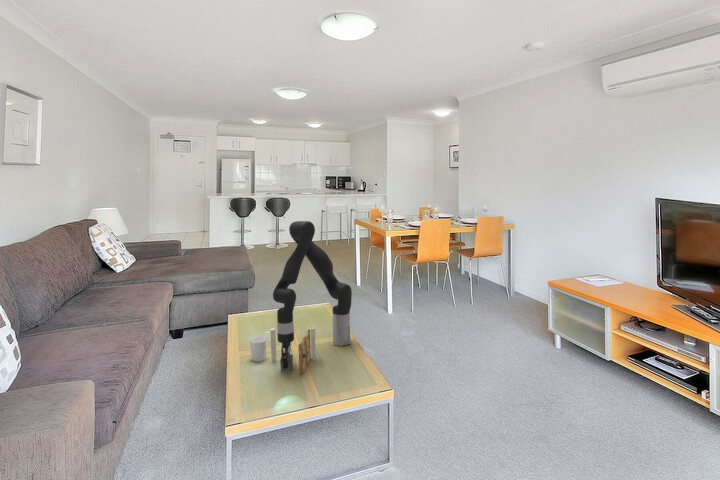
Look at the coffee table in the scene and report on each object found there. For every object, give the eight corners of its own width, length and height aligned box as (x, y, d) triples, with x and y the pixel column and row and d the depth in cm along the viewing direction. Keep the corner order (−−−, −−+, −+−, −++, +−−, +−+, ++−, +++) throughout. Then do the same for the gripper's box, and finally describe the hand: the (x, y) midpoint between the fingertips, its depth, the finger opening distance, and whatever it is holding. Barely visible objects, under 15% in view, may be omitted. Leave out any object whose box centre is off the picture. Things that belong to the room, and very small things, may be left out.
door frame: (315, 358, 182) (315, 327, 180) (315, 359, 180) (314, 328, 178) (272, 359, 181) (271, 328, 178) (271, 361, 179) (270, 330, 176)
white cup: (258, 363, 176) (257, 344, 175) (247, 359, 181) (246, 340, 179) (270, 357, 183) (269, 338, 182) (259, 353, 187) (258, 335, 186)
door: (308, 358, 182) (308, 329, 179) (313, 359, 181) (313, 329, 179) (299, 375, 166) (298, 343, 164) (304, 375, 166) (303, 343, 163)
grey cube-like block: (292, 366, 174) (292, 354, 173) (291, 371, 169) (291, 359, 168) (282, 366, 174) (281, 354, 173) (280, 372, 169) (280, 359, 168)
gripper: (292, 336, 162) (293, 371, 164) (295, 324, 176) (296, 356, 178) (274, 337, 161) (276, 371, 164) (279, 324, 176) (280, 356, 178)
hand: (286, 363), depth 171 cm, fingers open, 8 cm apart
